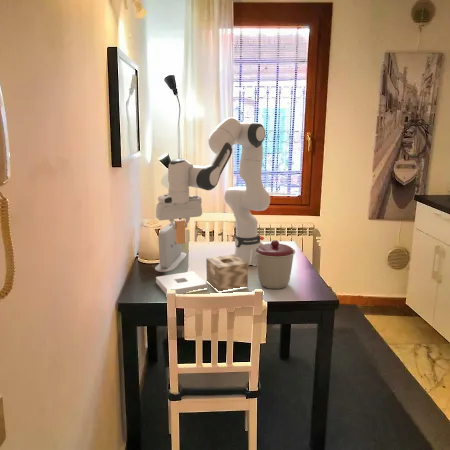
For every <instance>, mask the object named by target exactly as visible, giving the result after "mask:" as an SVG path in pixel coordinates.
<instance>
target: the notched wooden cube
mask: <svg viewBox="0 0 450 450" xmlns="http://www.w3.org/2000/svg"><path fill="white" fill-rule="evenodd" d="M205 263H206V282H207V281H208V282H209V283H210V284H211V285H212V286H213V287H214V288H216V289H217V290H218V291H223V290H228V289H233V288H240V287H248V288H249V265H248V263H247V262H245V261H244V260H242V259H241V258H239V257H237V256H236V255H235V253H234V254H227V255H220V256H213V257H208V258H207V257H206V262H205Z"/></svg>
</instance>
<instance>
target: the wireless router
mask: <svg viewBox="0 0 450 450" xmlns="http://www.w3.org/2000/svg"><path fill="white" fill-rule="evenodd" d="M173 223H174V222H173ZM157 237H158V253H159V254H158V256H159V263H158V264H157V265H156V266H155V267H154V269H155V271H156V272H160V273H168V272H172V271H174V270H175V269H176V268H177V267H179V265H181V262H182V261H184V259H185V258H186V257H187V253H186V252H183V251H182V249H183V248H182V246H183V244H177V243H176V242H175V229H172V224H171V223H170V222H169V223H168V224H167V225H166V226H164V227H163V228H162V229H160V231H158V235H157Z"/></svg>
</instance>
